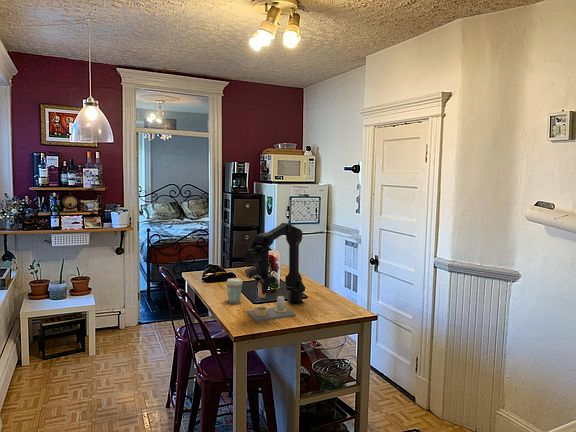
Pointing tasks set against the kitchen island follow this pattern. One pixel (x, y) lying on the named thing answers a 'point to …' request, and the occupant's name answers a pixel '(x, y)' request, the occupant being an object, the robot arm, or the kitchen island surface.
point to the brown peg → (260, 290)
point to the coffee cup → (234, 290)
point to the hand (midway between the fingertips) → (262, 293)
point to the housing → (271, 311)
